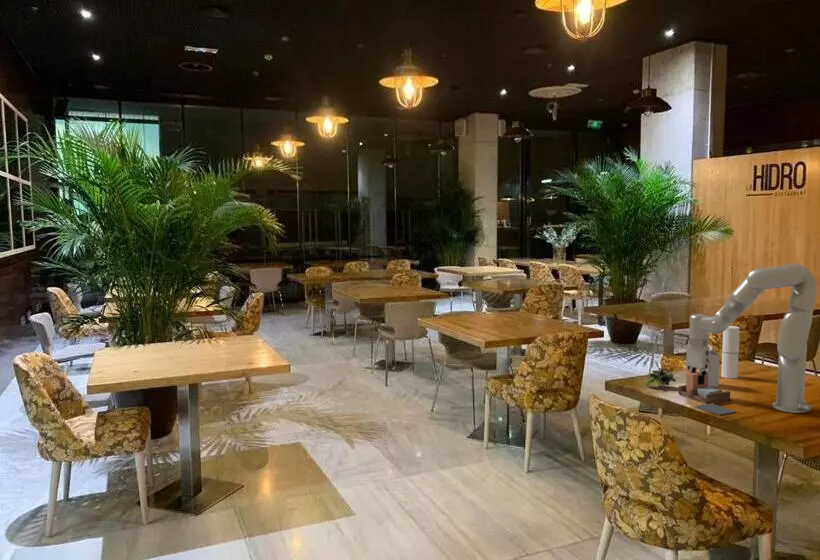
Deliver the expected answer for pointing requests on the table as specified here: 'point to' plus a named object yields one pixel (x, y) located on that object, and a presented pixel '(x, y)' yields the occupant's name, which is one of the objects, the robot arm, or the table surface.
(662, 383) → the passion flower
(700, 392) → the offcut upper
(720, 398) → the rack
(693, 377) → the pink rectangular block
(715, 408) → the slate mat
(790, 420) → the table surface
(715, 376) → the milk carton
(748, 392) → the table surface
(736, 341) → the cylindrical container
